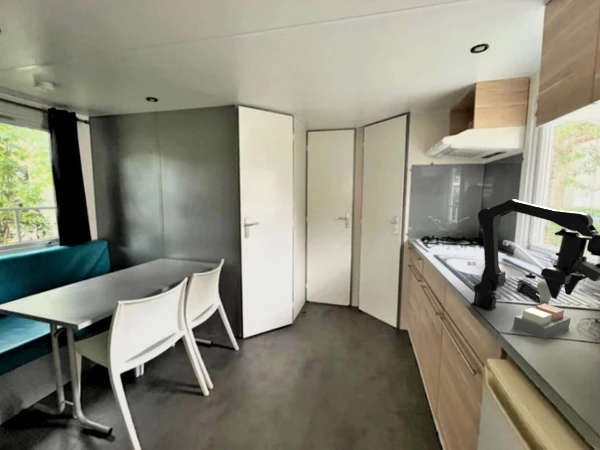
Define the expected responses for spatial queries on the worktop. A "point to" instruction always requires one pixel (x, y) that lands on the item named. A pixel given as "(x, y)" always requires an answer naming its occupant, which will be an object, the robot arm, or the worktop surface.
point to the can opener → (528, 289)
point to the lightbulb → (543, 292)
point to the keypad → (541, 327)
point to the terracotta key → (551, 311)
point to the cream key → (537, 316)
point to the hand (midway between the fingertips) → (561, 296)
